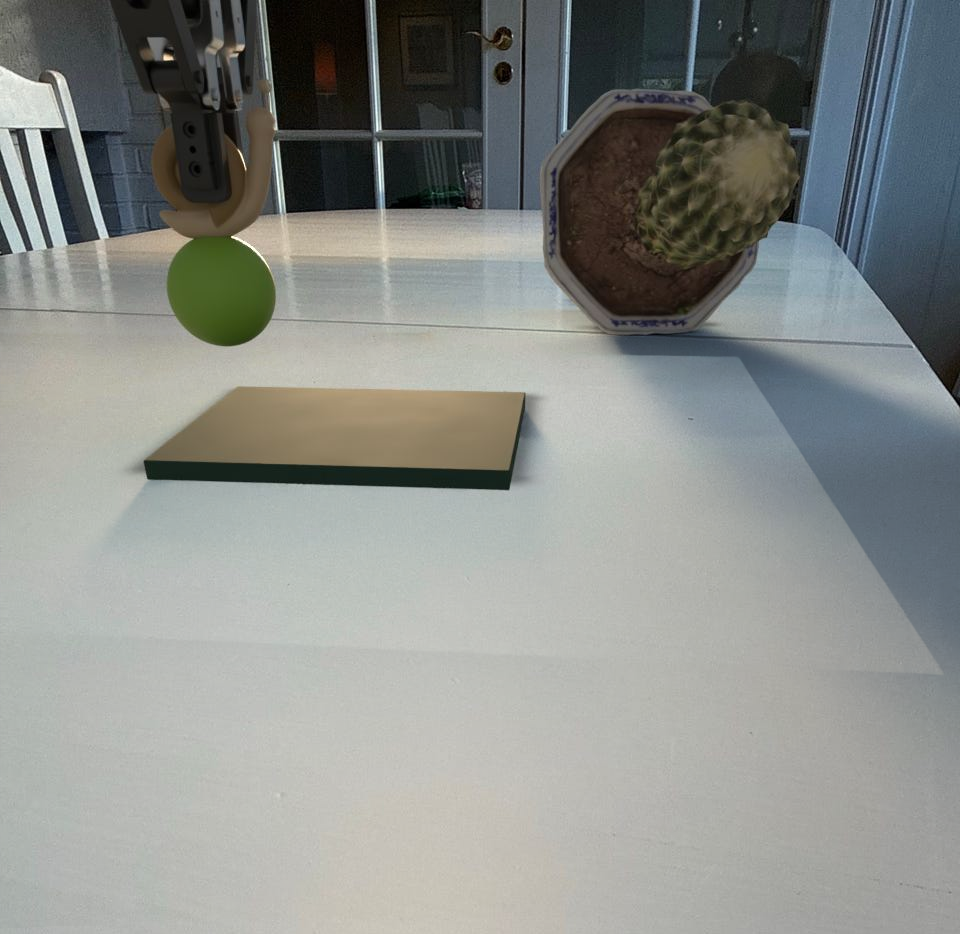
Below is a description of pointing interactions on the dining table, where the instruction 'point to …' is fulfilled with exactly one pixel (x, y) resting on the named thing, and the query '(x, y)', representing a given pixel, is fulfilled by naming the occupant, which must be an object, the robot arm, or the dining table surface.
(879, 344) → the dining table surface
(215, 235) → the snail figurine
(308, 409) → the mat
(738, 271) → the potted plant
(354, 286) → the dining table surface
